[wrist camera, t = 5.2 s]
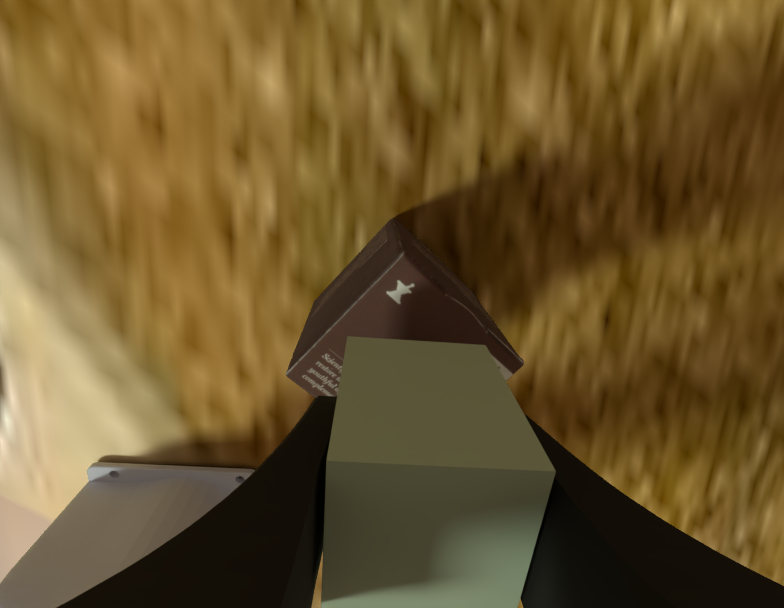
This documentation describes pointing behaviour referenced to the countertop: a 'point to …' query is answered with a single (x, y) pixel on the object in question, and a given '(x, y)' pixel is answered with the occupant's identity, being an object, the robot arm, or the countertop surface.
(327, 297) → the box
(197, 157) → the countertop surface
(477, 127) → the countertop surface
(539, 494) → the sage block
